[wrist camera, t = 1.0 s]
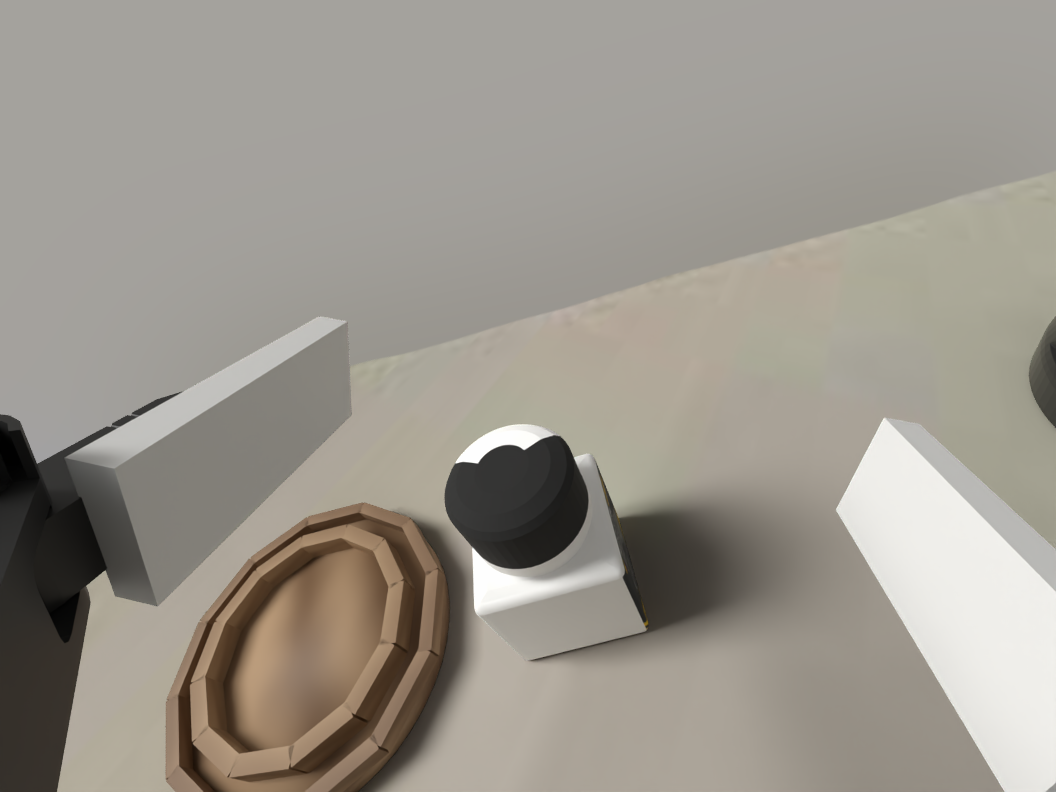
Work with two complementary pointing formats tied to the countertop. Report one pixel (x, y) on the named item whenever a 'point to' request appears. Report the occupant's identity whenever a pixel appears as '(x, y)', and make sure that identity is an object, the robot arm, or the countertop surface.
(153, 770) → the countertop surface
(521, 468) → the medicine bottle
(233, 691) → the walnut tray
